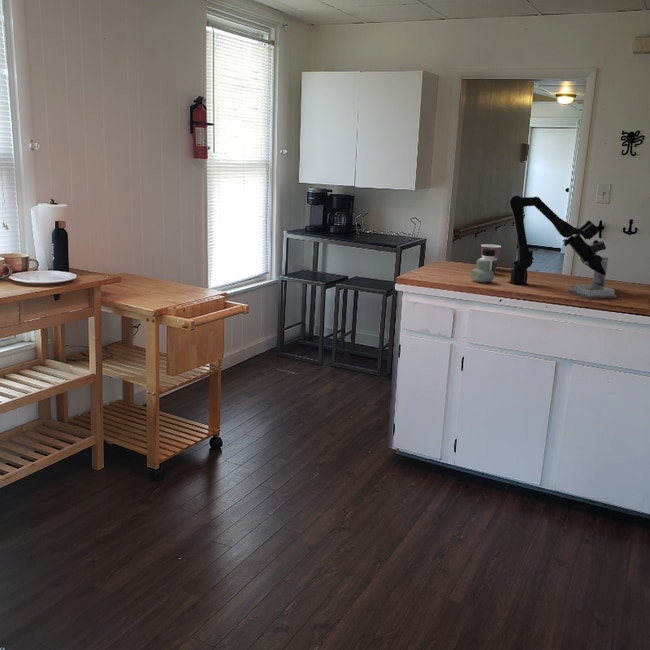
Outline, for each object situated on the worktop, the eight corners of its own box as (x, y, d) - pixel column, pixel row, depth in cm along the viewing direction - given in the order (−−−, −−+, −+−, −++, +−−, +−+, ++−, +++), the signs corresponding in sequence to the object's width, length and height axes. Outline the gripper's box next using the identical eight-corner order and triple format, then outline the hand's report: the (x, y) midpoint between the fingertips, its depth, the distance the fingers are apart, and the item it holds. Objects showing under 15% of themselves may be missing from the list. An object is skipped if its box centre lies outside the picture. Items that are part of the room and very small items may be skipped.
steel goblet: (596, 290, 295) (600, 258, 291) (585, 287, 301) (590, 256, 298) (609, 290, 297) (614, 258, 293) (599, 287, 303) (603, 256, 300)
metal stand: (588, 299, 275) (589, 290, 274) (567, 292, 288) (568, 284, 287) (617, 298, 279) (618, 290, 278) (595, 291, 292) (596, 283, 291)
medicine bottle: (491, 274, 325) (493, 250, 323) (477, 273, 329) (479, 248, 326) (496, 273, 331) (498, 248, 328) (482, 271, 335) (484, 247, 332)
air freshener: (495, 283, 302) (498, 261, 299) (479, 284, 299) (481, 261, 297) (483, 279, 312) (485, 258, 309) (467, 279, 309) (469, 258, 307)
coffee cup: (501, 271, 339) (503, 247, 336) (480, 270, 339) (483, 246, 336) (496, 267, 349) (498, 244, 346) (476, 267, 349) (478, 243, 346)
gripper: (600, 236, 285) (624, 264, 286) (591, 232, 303) (613, 258, 304) (578, 254, 288) (602, 281, 289) (570, 248, 306) (592, 274, 307)
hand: (603, 273), depth 297 cm, fingers open, 6 cm apart
